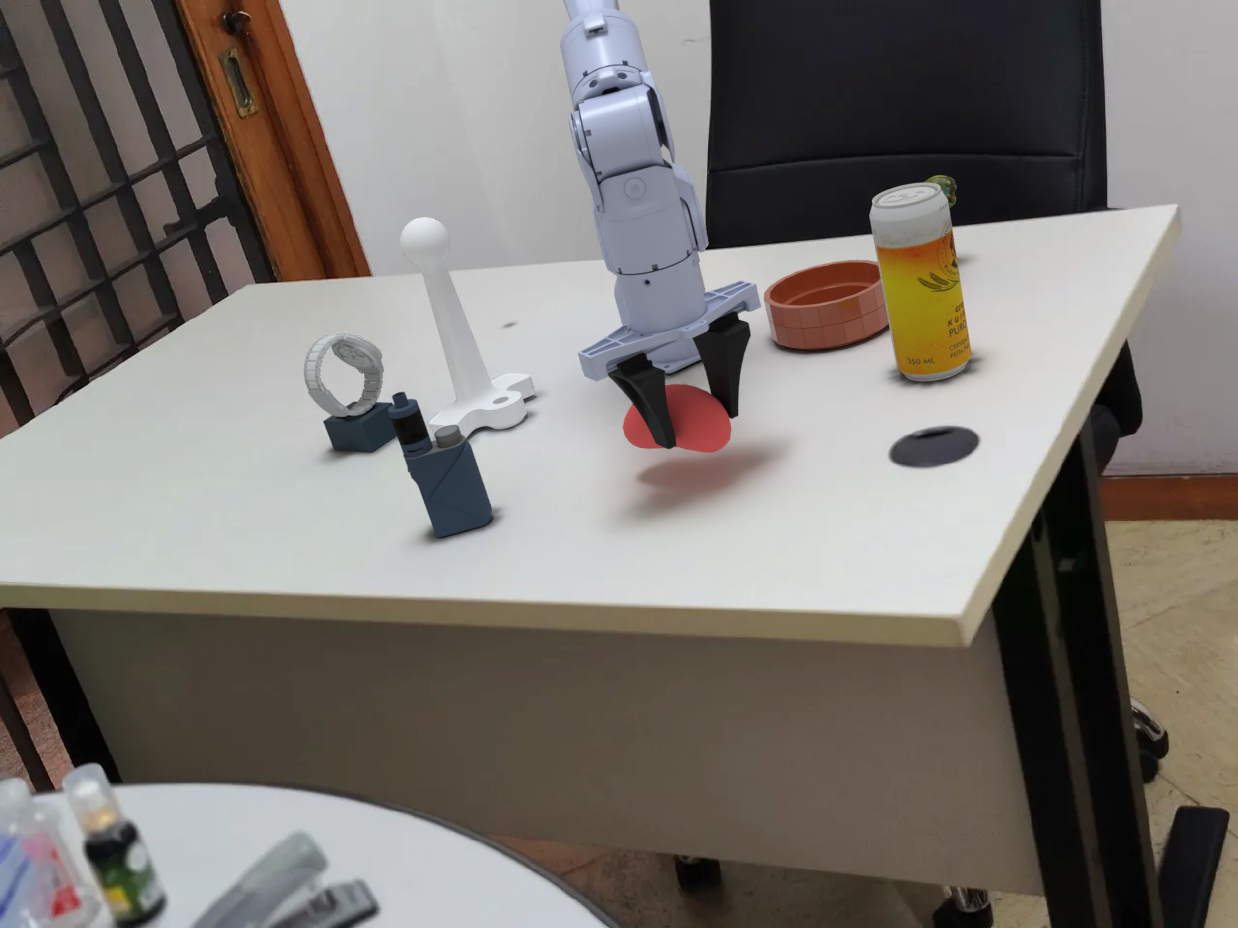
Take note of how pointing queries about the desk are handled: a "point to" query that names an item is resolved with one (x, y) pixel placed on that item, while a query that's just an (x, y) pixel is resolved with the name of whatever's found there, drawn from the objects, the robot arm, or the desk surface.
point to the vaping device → (441, 470)
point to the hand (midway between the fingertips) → (697, 429)
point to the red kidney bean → (685, 421)
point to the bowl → (827, 305)
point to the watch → (359, 420)
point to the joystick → (461, 342)
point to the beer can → (920, 281)
